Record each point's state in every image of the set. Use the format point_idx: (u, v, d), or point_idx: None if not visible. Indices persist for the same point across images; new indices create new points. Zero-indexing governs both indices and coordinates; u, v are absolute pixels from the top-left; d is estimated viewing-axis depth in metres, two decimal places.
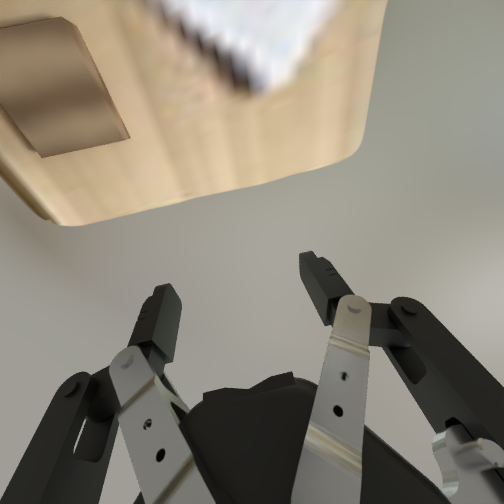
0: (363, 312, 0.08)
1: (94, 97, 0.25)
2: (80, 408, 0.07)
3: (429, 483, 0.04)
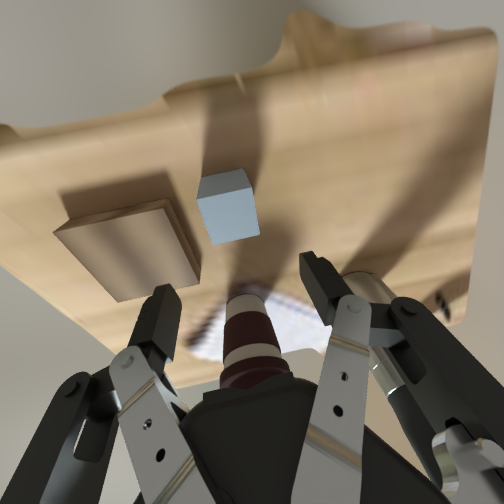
0: (363, 312, 0.08)
1: (150, 290, 0.28)
2: (80, 408, 0.07)
3: (429, 483, 0.04)
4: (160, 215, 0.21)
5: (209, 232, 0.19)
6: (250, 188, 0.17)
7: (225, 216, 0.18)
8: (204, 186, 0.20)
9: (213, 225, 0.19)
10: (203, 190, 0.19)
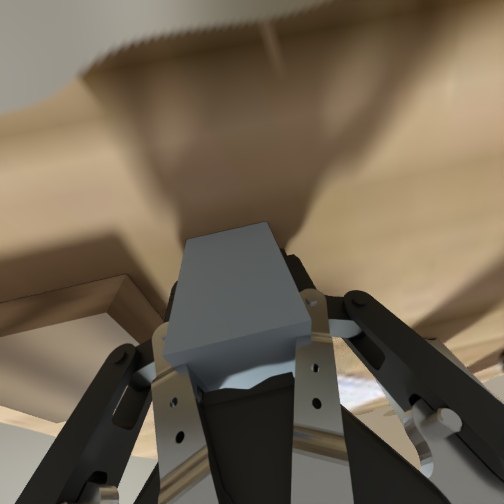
0: (318, 304, 0.08)
1: None
2: (123, 379, 0.07)
3: (429, 483, 0.04)
4: (103, 322, 0.11)
5: None
6: (307, 321, 0.06)
7: (238, 368, 0.08)
8: (189, 281, 0.09)
9: (210, 382, 0.08)
10: (185, 301, 0.08)
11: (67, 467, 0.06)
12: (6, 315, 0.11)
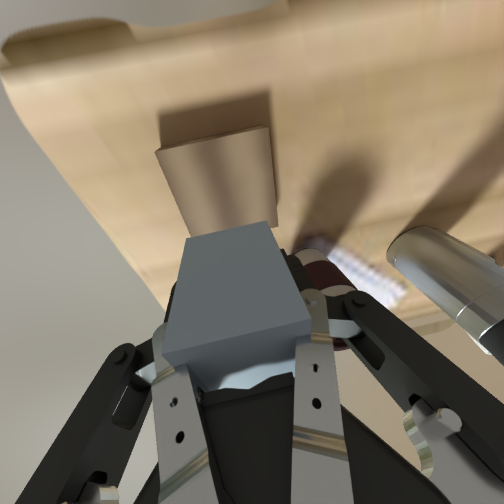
0: (318, 304, 0.08)
1: None
2: (123, 379, 0.07)
3: (429, 483, 0.04)
4: (263, 136, 0.21)
5: None
6: (307, 320, 0.06)
7: (237, 367, 0.08)
8: (189, 279, 0.09)
9: (209, 381, 0.08)
10: (184, 300, 0.08)
11: (67, 467, 0.06)
12: (206, 138, 0.21)
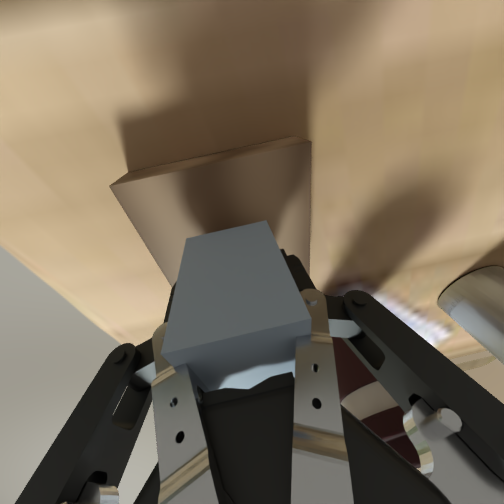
0: (318, 304, 0.08)
1: None
2: (123, 379, 0.07)
3: (429, 483, 0.04)
4: (301, 157, 0.12)
5: None
6: (307, 320, 0.06)
7: (237, 367, 0.08)
8: (188, 279, 0.09)
9: (209, 381, 0.08)
10: (184, 300, 0.08)
11: (67, 467, 0.06)
12: (201, 160, 0.13)
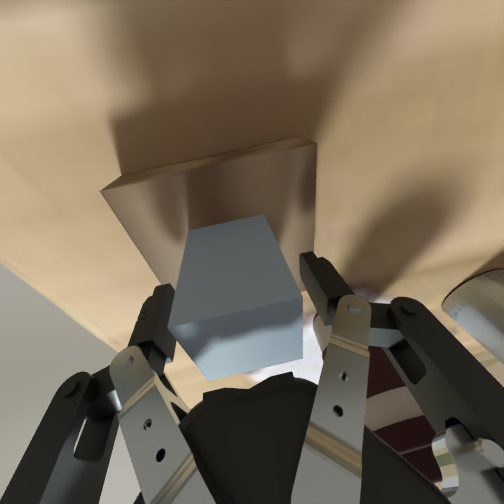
0: (363, 312, 0.08)
1: None
2: (80, 408, 0.07)
3: (428, 483, 0.04)
4: (306, 160, 0.11)
5: (201, 367, 0.09)
6: (298, 298, 0.07)
7: (236, 344, 0.08)
8: (191, 266, 0.10)
9: (210, 358, 0.09)
10: (188, 283, 0.09)
11: None
12: (199, 162, 0.12)
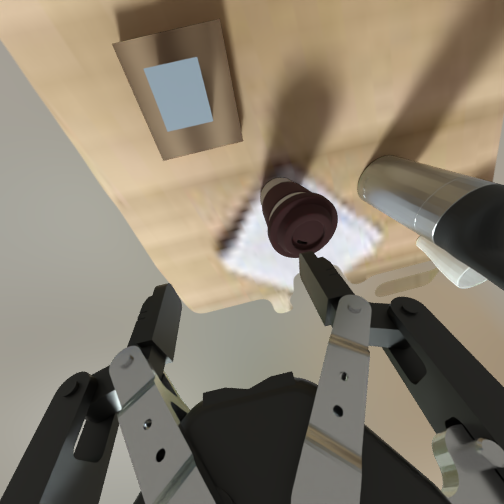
0: (363, 312, 0.08)
1: (195, 145, 0.28)
2: (80, 408, 0.07)
3: (429, 482, 0.04)
4: (216, 29, 0.22)
5: (162, 114, 0.20)
6: (195, 58, 0.18)
7: (175, 93, 0.19)
8: None
9: (165, 104, 0.19)
10: None
11: None
12: None
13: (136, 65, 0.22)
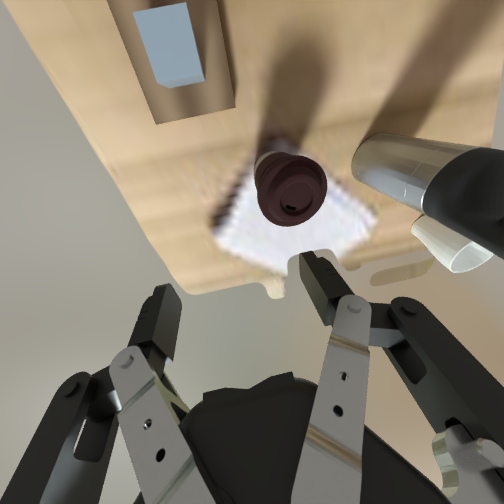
0: (363, 312, 0.08)
1: (188, 110, 0.28)
2: (80, 408, 0.07)
3: (429, 483, 0.04)
4: None
5: (151, 63, 0.20)
6: (184, 3, 0.18)
7: (164, 41, 0.19)
8: None
9: (154, 52, 0.20)
10: None
11: None
12: None
13: (129, 20, 0.23)
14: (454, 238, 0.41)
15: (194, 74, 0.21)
